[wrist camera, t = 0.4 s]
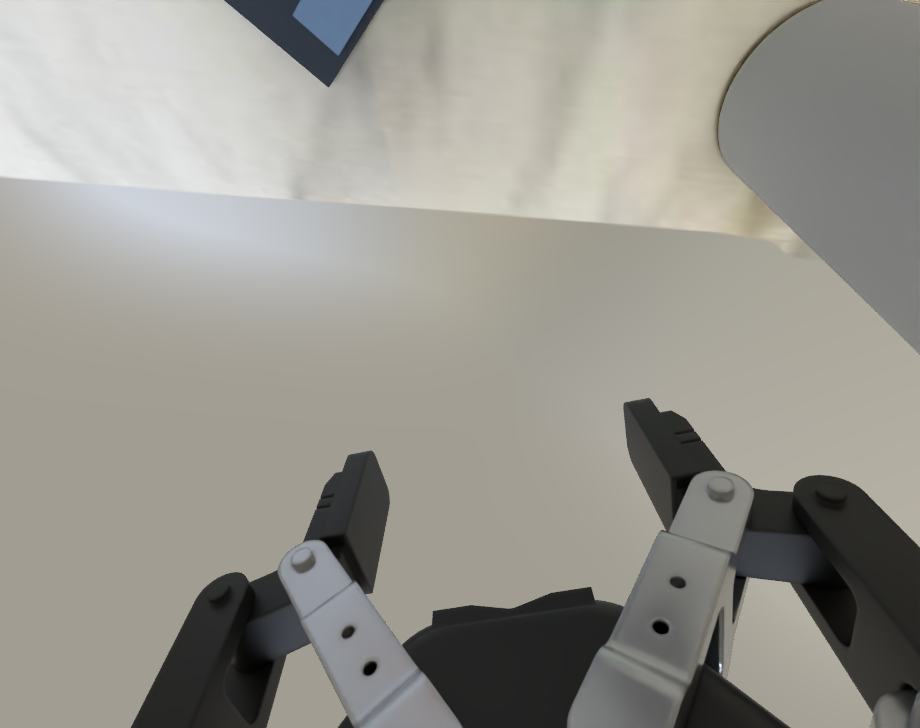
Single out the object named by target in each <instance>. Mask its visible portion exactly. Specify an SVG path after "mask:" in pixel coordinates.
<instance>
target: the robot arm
mask: <svg viewBox="0 0 920 728" xmlns="http://www.w3.org/2000/svg"><path fill="white" fill-rule="evenodd" d="M624 417H625V426H626V427H625V428H626V438H627V446H628V451H629V455H630V458H631V461H632V463H633V465H634V467H635V469H636V471H637V473H638V475H639V477H640V479H641V481H642V483H643V485H644V487H645V489H646V491H647V493H648V495H649V497H650V499H651V501H652V503H653V505H654V507H655V509H656V511H657V513H658V515H659V517H660V519H661V521H662V523H663V525H664V527H665V529H666V531H664V530H661V531H660V532H659V533H658V535H657V537H656V539H655V541H654V543H653V545H652V548H651V550H650V552H649V554H648V556H647V559H646V561H645V563H644V565H643V567H642V569H641V572H640V574H639V576H638V578H637V580H636V582H635V584H634V587H633V589H632V591H631V593H630V595H629V597H628V600H627V602H626V604H625V606H624V607H623V606H621V605H617V604H614V603H611V602H606V601H599V600H595V599H594V596H593V592H592V589H591V587H588V588H581V589H575V590H568V591H561V592H555V593H550V594H548V595H545V596H543V597H540V598H538V599H535V600H533V601H530V602H528V603H525V604H523V605H521V606H518V607H516V608H512V609H505V608H493V607H484V606H483V607H482V606H473V605H470V606H463V607H457V608H450V609H444V610H437V611H433V619H432V625H431V626H428V627H426V628H425V629H423V630H421V631H419V632H418V633H416V634H415V635H413V636H412V637H410V638H409V639H408V640H407V641H406V642H405V643H403V645H401V644H400V642H399V641H398V639H397V638H396V636H395V635H394V634H393V632H392V631H391V630H390V628H389V627H388V626H387V624H386V622H385V621H384V620H383V618H382V617H381V616H380V614H379V613H378V611H377V610H376V609H375V607H374V606H373V604H372V603H371V602H370V600H369V599H368V598H367V596H366V595H365V594H370V593H373V588H374V583H375V578H376V572H377V567H378V562H379V557H380V552H381V547H382V542H383V536H384V531H385V526H386V521H387V516H388V510H389V504H390V501H389V500H390V499H389V491H388V488H387V485H386V482H385V479H384V477H383V474H382V472H381V469H380V467H379V464H378V461H377V459H376V456H375V454H374V452H373V451H367V452H361V453H356V454H351V455H349V456H348V457H347V460H346V463H345V465H344V468H343V471H342V472H339V473H335V474H334V475H333V477H332V478H331V479H330V480H329V481H328V482H327V483H326V485H325V487H324V489H323V492H322V494H321V499H320V500H319V502H318V505H317V509H316V510H315V513H314V515H313V518H312V520H311V523H310V526H309V528H308V531H307V534H306V536H305V539H304V541H303V543H301V544H299V545H297V546H295V547H294V548H292V549H291V550H290V551H289V552H288V553H287V554H286V555H285V556H284V557H283V558H282V560H281V562H280V564H279V566H278V570H277V571H275V572H273V573H271V574H268V575H266V576H264V577H261V578H259V579H257V580H254V581H252V582H250V583H249V581H248V579H247V578H246V576H245V575H244V574H242V573H238V572H234V573H229V574H226V575H223V576H221V577H219V578H217V579H216V580H214V581H213V582H211V583H210V584H209V585H208V586H206V587H205V588H204V589H203V590H202V592H201V593H200V594H199V596H198V597H197V599H196V600H195V602H194V604H193V606H192V608H191V610H190V612H189V614H188V616H187V618H186V620H185V622H184V624H183V626H182V628H181V630H180V632H179V634H178V636H177V638H176V640H175V642H174V644H173V646H172V648H171V650H170V651H169V654H168V655H167V658H166V659H165V661H164V663H163V665H162V667H161V669H160V671H159V673H158V675H157V677H156V679H155V681H154V683H153V685H152V687H151V689H150V691H149V693H148V695H147V697H146V699H145V701H144V703H143V705H142V707H141V709H140V711H139V713H138V715H137V717H136V719H135V721H134V723H133V725H132V726H131V728H266V727H267V723H268V720H269V716H270V712H271V709H272V705H273V702H274V698H275V695H276V691H277V688H278V684H279V680H280V677H281V673H282V669H283V666H284V662H285V659H286V655H287V654H289V653H291V652H293V651H295V650H297V649H299V648H301V647H303V646H306V645H308V644H310V643H311V644H312V646H313V648H314V649H315V652H316V654H317V655H318V657H319V659H320V661H321V663H322V665H323V667H324V669H325V671H326V673H327V675H328V677H329V679H330V681H331V683H332V685H333V687H334V689H335V691H336V693H337V695H338V697H339V699H340V701H341V703H342V705H343V707H344V709H345V711H346V713H347V716H346V717H345V719H344V720H343V721H342V723H341V724H340V725H339V727H338V728H790V727H789V726H787V725H786V724H785V723H783V722H782V721H781V720H779V719H778V718H777V717H775V716H774V715H773V714H771V713H770V712H769V711H768V710H766V709H765V708H764V707H762V706H761V705H760V704H758V703H757V702H756V701H754V700H753V699H752V698H750V697H749V696H748V695H746V694H745V693H743V692H742V691H741V690H740V689H738V688H737V687H736V686H734V685H733V684H732V683H730V682H729V681H728V680H726V679H727V675H728V670H729V665H730V659H731V653H732V646H733V640H734V635H735V631H736V627H737V623H738V620H739V615H740V612H741V608H742V604H743V600H744V597H745V593H746V589H747V585H748V582H749V578H750V577H751V578H758V579H759V578H760V579H767V580H775V581H783V582H790V583H791V585H792V587H793V588H794V590H795V591H796V593H797V594H798V596H799V597H800V599H801V600H802V602H803V604H804V605H805V607H806V608H807V610H808V612H809V613H810V615H811V616H812V618H813V620H814V621H815V623H816V624H817V626H818V627H819V629H820V630H821V632H822V634H823V635H824V637H825V638H826V640H827V642H828V643H829V644H830V646H831V648H832V649H833V651H834V653H835V654H836V656H837V657H838V659H839V660H840V662H841V664H842V665H843V667H844V668H845V670H846V671H847V673H848V674H849V676H850V678H851V679H852V681H853V682H854V684H855V686H856V687H857V689H858V690H859V692H860V693H861V695H862V697H863V698H864V700H865V701H866V703H867V704H868V706H869V708H870V709H871V711H872V712H873V716H872V720H871V725H870V728H920V547H919V546H918V545H917V544H916V543H915V542H914V541H913V540H912V539H911V538H910V537H909V536H908V535H907V534H906V533H905V532H904V531H903V530H902V529H901V528H900V527H899V526H898V525H897V524H896V523H895V522H894V521H893V520H892V519H891V518H890V517H889V516H888V515H887V514H886V513H885V512H884V511H883V510H882V509H881V508H880V507H879V506H878V505H877V504H876V503H875V502H874V501H873V500H872V499H871V498H870V497H869V496H868V495H867V494H866V493H865V492H864V491H863V490H862V489H861V488H859V487H858V486H856V485H855V484H853V483H851V482H849V481H846V480H843V479H840V478H837V477H832V476H824V475H815V476H808V477H805V478H802V479H801V480H799V481H798V482H797V483H796V484H795V486H794V490H793V492H784V491H768V490H760V489H755V488H752V486H751V485H750V484H749V483H748V482H747V481H746V480H745V479H743V478H742V477H740V476H738V475H736V474H733V473H730V472H726V471H725V470H724V468H723V467H722V466H721V464H720V463H719V462H718V460H717V459H716V458H715V457H714V455H713V454H712V453H711V451H710V450H709V449H708V447H707V446H706V445H705V443H704V442H703V441H701V438H700V437H699V436H698V434H697V433H696V432H694V429H693V428H692V426H691V425H690V424H689V422H688V421H687V420H686V419H685V418H684V417H682V416H680V415H678V414H676V413H675V412H673V411H666V412H661V413H660V412H659V411H658V409H657V408H656V406H655V405H654V403H653V402H652V401H651V399H650V398H646V399H641V400H635V401H630V402H625V403H624Z"/></svg>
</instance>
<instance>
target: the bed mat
mask: <svg viewBox="0 0 920 728" xmlns="http://www.w3.org/2000/svg"><path fill="white" fill-rule="evenodd" d="M225 1H226V2H227V3H228V4H229V5H231V6H232V7H233V8H234V9H235V10H237V11H238V12H239V13H240V14H241V15H243V16H244V17H245V18H246V19H247V20H249V21H250V22H251V23H252V24H253V25H255V26H256V27H257V28H258V29H259V30H261V31H262V32H263V33H264V34H265V35H266V36H268V37H269V38H270V39H271V40H272V41H274V42H275V43H276V44H277V45H278V46H280V47H281V48H282V49H283V50H284V51H286V52H287V53H288V54H289V55H290V56H292V57H293V58H294V59H295V60H296V61H298V62H299V63H300V64H301V65H302V66H304V67H305V68H306V69H307V70H308V71H310V72H311V73H312V74H313V75H314V76H316V77H317V78H318V79H319V80H320V81H322V82H323V83H324V84H325V85H326V86H327V87H329V86H330V85H331V83H332V82H333V80H334V78H335V77H336V75H337V74H338V72H339V70H340V69H341V67H342V66H343V64H344V62H345V61H346V59H347V58H348V56H349V55H350V53H351V51H352V50H353V48H354V47H355V45H356V43H357V42H358V40H359V39H360V37H361V35H362V34H363V32H364V31H365V29H366V27H367V26H368V24H369V23H370V21H371V19H372V18H373V16H374V15H375V13H376V11H377V10H378V8H379V7H380V5H381V3H382V2H383V0H225Z"/></svg>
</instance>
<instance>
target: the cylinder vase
mask: <svg viewBox="0 0 920 728" xmlns="http://www.w3.org/2000/svg"><path fill="white" fill-rule="evenodd" d="M718 140H719V146H720V150H721V153H722V156H723V158H724V160H725V162H726V164H727V165H728V167H729V168H730V169H731V170H732V171H733V172H734V173H735V174H736V175H737V176H738V177H739V178H740V179H741V180H742V181H743V182H744V183H745V184H746V185H747V186H748V187H749V188H750V189H751V190H752V191H753V192H754V193H755V194H756V195H757V196H758V197H759V198H760V199H761V200H762V201H763V202H764V203H765V204H766V205H767V206H768V207H769V208H770V209H772V210H773V211H774V212H775V213H776V214H777V215H778V216H779V217H780V218H781V219H782V220H783V221H784V222H785V223H786V224H787V225H788V226H789V227H790V228H791V229H792V230H793V231H794V232H795V233H796V234H797V235H798V236H799V237H800V238H801V239H802V240H803V241H804V242H805V243H806V244H807V245H808V246H809V247H810V248H811V249H812V250H813V251H814V252H815V253H817V254H818V255H819V256H820V257H821V258H822V259H823V260H824V261H825V262H826V263H827V264H828V265H829V266H830V267H831V268H832V269H833V270H834V271H835V272H836V273H837V274H838V275H839V276H840V277H841V278H842V279H843V280H844V281H845V282H846V283H847V284H848V285H849V286H850V287H851V288H852V289H853V290H854V291H855V292H857V294H858V295H859V296H861V297H862V298H863V299H864V300H865V301H866V302H867V303H868V304H869V305H870V306H871V307H872V308H873V309H874V310H875V311H876V312H877V313H878V314H879V315H880V316H881V317H882V318H883V319H884V320H885V321H886V322H887V323H888V324H889V325H890V326H891V327H892V328H893V329H894V330H895V331H896V332H897V333H898V334H899V335H900V336H901V337H902V338H903V339H904V340H906V341H907V342H908V343H909V344H910V345H911V346H912V347H913V348H914V349H915V350H916V351H917V352H918V353H919V354H920V5H917V4H913V3H909V2H905V1H901V0H823V1H820V2H818V3H816V4H814V5H811V6H809V7H807V8H806V9H804V10H802V11H800V12H799V13H797V14H795V15H794V16H792V17H791V18H789V19H788V20H786V21H785V22H784V23H782V24H781V25H780V26H779V27H777V28H776V29H775V30H774V31H773V32H772V33H770V34H769V35H768V36H767V37H766V38H765V39H764V40H763V41H762V42H761V43H760V44H759V45H758V46H757V47H756V49H755V50H754V51H753V52H752V53H751V54H750V56H749V57H748V58H747V60H746V61H745V62H744V64H743V65H742V67H741V68H740V70H739V71H738V73H737V74H736V76H735V78H734V80H733V82H732V83H731V85H730V87H729V90H728V92H727V94H726V97H725V99H724V102H723V105H722V109H721V113H720V118H719V126H718Z"/></svg>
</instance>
